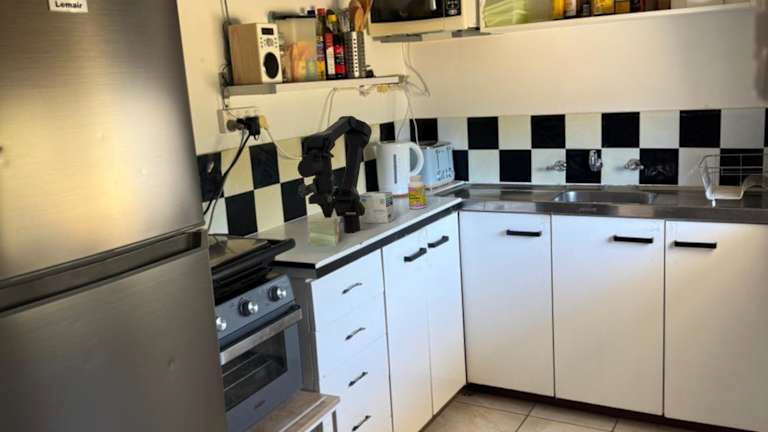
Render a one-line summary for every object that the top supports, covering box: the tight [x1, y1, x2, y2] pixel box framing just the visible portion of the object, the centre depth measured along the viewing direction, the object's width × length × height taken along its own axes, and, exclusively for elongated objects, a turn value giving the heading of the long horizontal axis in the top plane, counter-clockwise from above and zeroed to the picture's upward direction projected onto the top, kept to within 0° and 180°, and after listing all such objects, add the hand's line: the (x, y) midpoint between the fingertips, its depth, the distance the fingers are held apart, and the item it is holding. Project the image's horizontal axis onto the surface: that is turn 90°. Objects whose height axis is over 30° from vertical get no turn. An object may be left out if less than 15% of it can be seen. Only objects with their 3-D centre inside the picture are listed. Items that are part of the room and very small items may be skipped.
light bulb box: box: [359, 190, 396, 224], centre depth 263 cm, size 11×7×11 cm, turn 66°
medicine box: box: [331, 196, 343, 224], centre depth 271 cm, size 8×4×9 cm, turn 170°
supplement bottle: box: [407, 174, 427, 210], centre depth 285 cm, size 7×7×13 cm
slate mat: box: [292, 240, 350, 255], centre depth 223 cm, size 16×14×1 cm
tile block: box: [308, 217, 341, 246], centre depth 227 cm, size 5×8×8 cm, turn 79°
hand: (328, 221), depth 232 cm, fingers closed
